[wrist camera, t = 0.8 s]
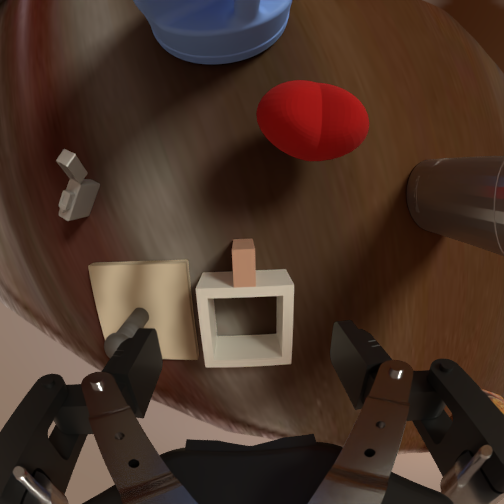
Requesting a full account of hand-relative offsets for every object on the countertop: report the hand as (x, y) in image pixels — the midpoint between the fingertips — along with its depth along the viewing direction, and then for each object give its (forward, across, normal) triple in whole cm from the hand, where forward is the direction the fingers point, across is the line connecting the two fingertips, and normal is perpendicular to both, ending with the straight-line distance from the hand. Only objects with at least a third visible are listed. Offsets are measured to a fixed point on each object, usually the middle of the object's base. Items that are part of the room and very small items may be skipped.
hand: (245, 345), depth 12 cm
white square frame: (+18, 0, +5) cm, 19 cm away
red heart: (+18, -6, -12) cm, 23 cm away
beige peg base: (+18, +12, +7) cm, 23 cm away
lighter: (+18, +17, -8) cm, 26 cm away
